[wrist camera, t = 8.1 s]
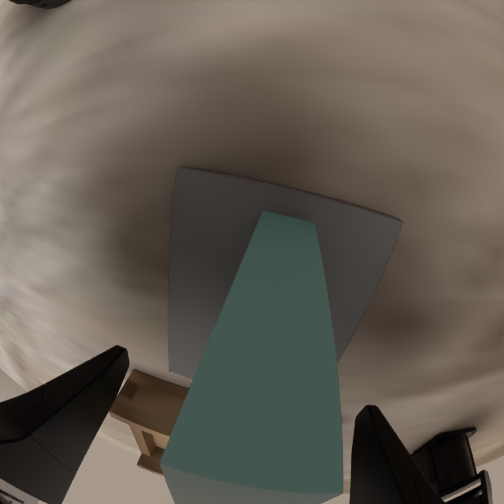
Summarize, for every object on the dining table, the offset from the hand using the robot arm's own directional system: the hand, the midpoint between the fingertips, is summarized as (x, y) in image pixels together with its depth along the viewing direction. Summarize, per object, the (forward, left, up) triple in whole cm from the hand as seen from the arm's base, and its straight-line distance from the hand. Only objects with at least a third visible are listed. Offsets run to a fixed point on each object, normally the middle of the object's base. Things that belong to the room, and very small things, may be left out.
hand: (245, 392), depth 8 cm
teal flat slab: (0, 0, -4) cm, 4 cm away
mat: (0, 0, -5) cm, 5 cm away
